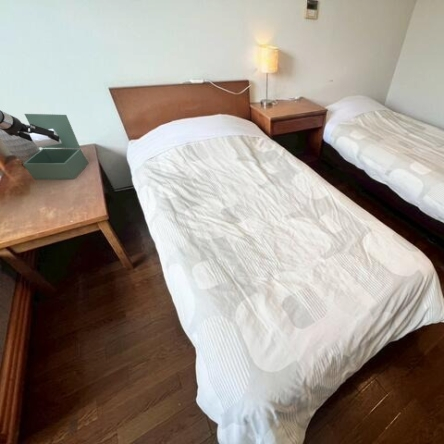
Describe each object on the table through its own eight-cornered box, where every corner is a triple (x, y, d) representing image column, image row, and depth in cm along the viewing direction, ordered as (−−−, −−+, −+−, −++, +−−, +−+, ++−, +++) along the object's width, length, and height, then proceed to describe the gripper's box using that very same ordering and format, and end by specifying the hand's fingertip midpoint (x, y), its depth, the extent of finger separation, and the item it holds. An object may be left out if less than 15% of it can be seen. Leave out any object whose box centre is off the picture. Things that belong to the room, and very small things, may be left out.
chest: (74, 179, 140) (64, 163, 133) (34, 179, 137) (22, 164, 130) (88, 163, 152) (80, 148, 146) (52, 163, 149) (42, 148, 143)
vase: (47, 155, 155) (16, 109, 136) (48, 164, 148) (15, 117, 129) (20, 160, 149) (-16, 112, 130) (20, 170, 142) (-19, 120, 123)
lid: (65, 115, 135) (70, 113, 139) (24, 113, 132) (30, 112, 136) (79, 148, 145) (84, 145, 149) (41, 148, 142) (47, 145, 146)
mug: (39, 146, 136) (30, 131, 132) (61, 142, 141) (53, 127, 137) (37, 150, 128) (27, 134, 123) (61, 145, 133) (52, 130, 128)
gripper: (-28, 129, 110) (19, 145, 131) (35, 130, 113) (70, 146, 135) (-28, 112, 110) (19, 131, 131) (35, 114, 114) (70, 132, 135)
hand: (45, 139), depth 133 cm, fingers closed on mug, 12 cm apart
